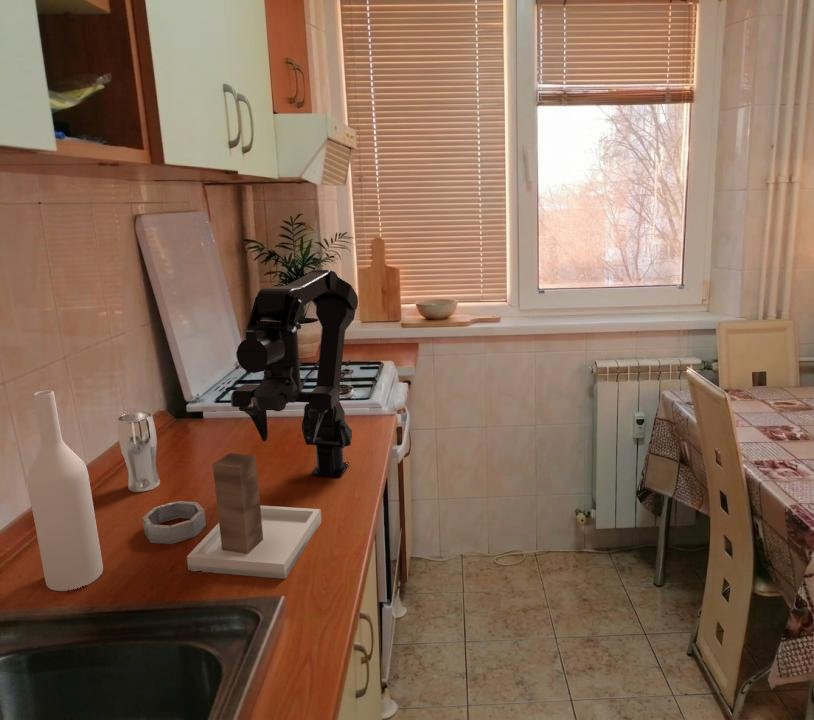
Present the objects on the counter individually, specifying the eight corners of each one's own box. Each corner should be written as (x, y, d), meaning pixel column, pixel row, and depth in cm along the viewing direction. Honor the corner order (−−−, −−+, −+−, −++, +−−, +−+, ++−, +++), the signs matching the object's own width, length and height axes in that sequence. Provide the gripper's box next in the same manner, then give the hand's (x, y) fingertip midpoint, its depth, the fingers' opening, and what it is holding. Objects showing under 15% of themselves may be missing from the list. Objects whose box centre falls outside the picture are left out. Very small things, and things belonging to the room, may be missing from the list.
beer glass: (121, 485, 134) (111, 416, 131) (155, 475, 139) (146, 408, 135) (132, 496, 129) (122, 424, 125) (167, 486, 133) (158, 416, 130)
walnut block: (238, 535, 111) (230, 452, 107) (263, 539, 109) (255, 455, 106) (222, 549, 107) (212, 464, 103) (247, 554, 105) (239, 467, 101)
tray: (237, 516, 120) (236, 503, 119) (321, 521, 117) (320, 509, 116) (188, 570, 103) (186, 556, 102) (285, 578, 100) (284, 564, 99)
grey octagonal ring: (165, 514, 121) (163, 500, 120) (213, 518, 119) (211, 503, 119) (135, 541, 112) (133, 525, 111) (186, 545, 110) (184, 529, 110)
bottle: (36, 593, 98) (-1, 402, 90) (59, 564, 106) (28, 386, 98) (91, 590, 98) (60, 399, 91) (111, 560, 106) (83, 383, 99)
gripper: (212, 369, 110) (221, 455, 114) (318, 371, 107) (324, 461, 110) (240, 353, 121) (247, 433, 124) (338, 355, 117) (342, 437, 121)
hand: (288, 441), depth 120 cm, fingers open, 9 cm apart
